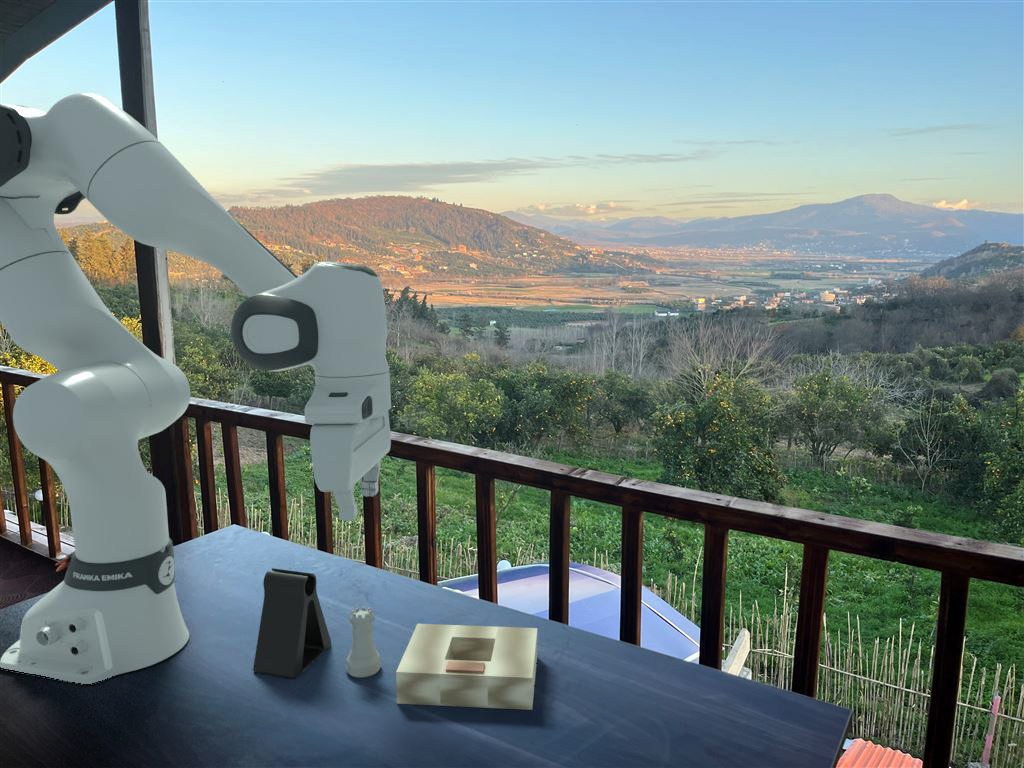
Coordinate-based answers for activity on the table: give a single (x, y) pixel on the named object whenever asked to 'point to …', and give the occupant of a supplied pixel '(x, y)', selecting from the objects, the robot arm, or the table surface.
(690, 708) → the table surface
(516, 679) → the socket block
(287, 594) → the phone stand
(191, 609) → the table surface
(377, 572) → the table surface
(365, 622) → the rook chess piece
